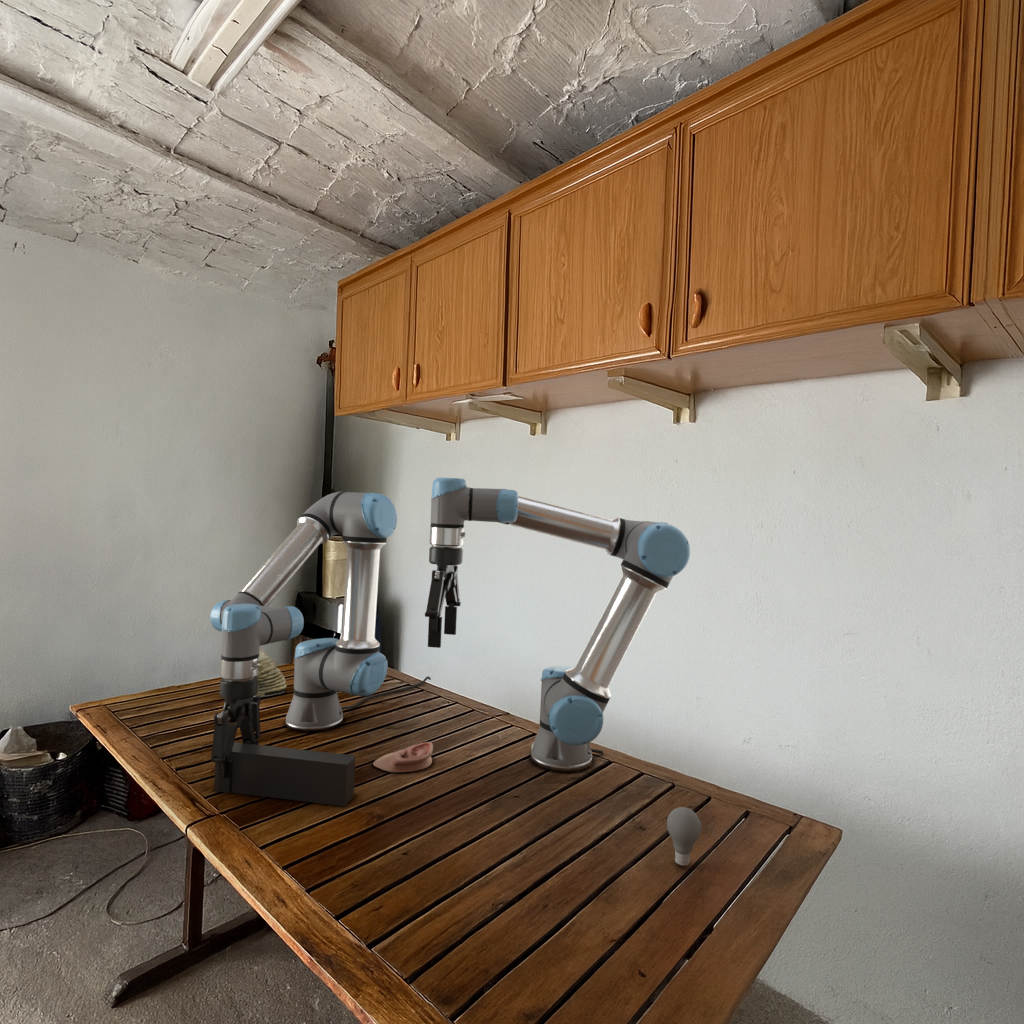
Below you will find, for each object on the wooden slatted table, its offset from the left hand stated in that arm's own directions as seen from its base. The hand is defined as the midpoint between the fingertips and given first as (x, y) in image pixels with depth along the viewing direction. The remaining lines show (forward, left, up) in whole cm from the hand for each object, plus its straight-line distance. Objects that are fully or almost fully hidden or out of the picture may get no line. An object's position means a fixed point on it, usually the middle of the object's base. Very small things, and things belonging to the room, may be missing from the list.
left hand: (235, 782), depth 136 cm
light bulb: (-39, +84, -1) cm, 93 cm away
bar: (-6, +10, -1) cm, 11 cm away
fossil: (-35, -55, -1) cm, 65 cm away
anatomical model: (-33, +16, -1) cm, 37 cm away
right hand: (-32, +29, +31) cm, 53 cm away
